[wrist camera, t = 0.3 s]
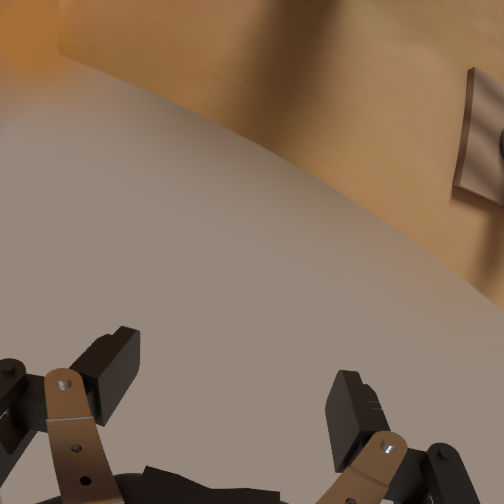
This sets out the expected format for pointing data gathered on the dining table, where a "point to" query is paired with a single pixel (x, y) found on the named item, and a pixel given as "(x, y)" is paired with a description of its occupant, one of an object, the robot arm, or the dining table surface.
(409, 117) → the dining table surface
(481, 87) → the walnut block
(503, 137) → the dark grey cylinder
